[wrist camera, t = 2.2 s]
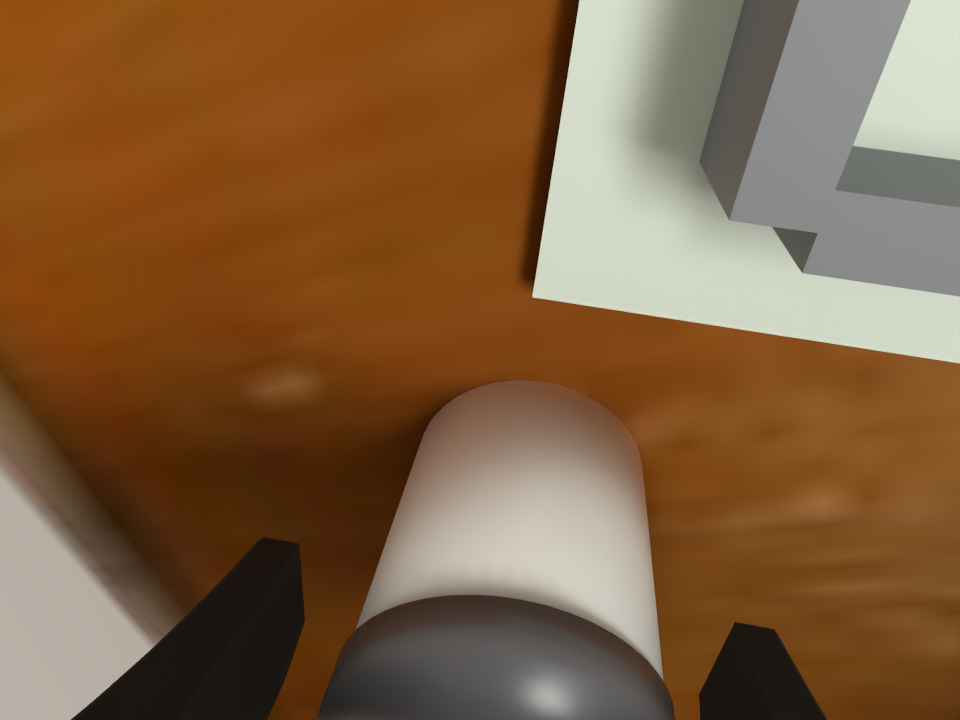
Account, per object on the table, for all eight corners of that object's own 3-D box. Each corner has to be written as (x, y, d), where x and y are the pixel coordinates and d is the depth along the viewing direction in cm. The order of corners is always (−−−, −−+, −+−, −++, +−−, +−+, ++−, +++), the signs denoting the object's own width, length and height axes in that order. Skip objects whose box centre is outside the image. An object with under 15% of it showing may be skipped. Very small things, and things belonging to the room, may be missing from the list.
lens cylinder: (674, 399, 13) (731, 697, 8) (619, 571, 15) (633, 877, 10) (420, 357, 13) (310, 616, 8) (409, 533, 16) (322, 810, 11)
